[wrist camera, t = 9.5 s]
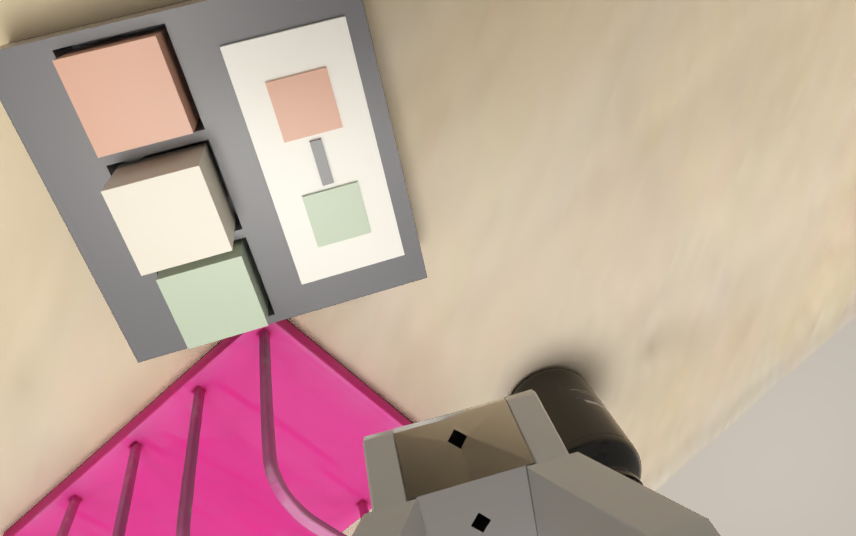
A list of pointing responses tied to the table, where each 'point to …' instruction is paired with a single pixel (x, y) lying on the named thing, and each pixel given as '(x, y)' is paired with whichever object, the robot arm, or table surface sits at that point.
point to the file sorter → (231, 451)
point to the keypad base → (240, 153)
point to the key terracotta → (129, 91)
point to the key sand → (171, 208)
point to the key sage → (216, 296)
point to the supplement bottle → (583, 420)
